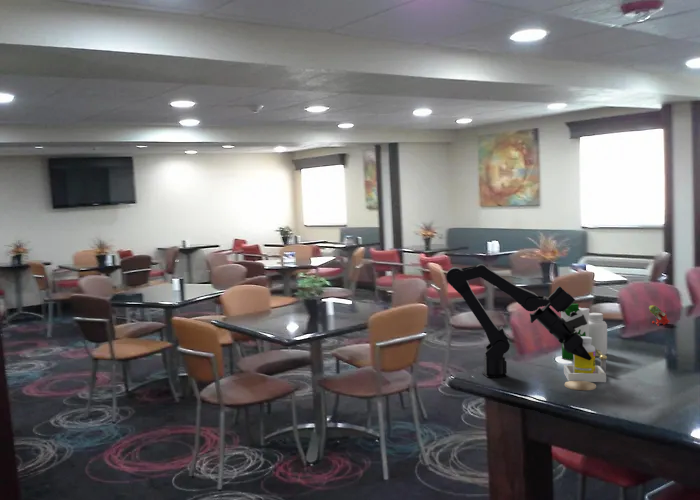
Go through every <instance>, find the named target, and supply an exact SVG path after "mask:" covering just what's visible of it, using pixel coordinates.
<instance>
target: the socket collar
mask: <svg viewBox="0 0 700 500" xmlns="http://www.w3.org/2000/svg"><path fill="white" fill-rule="evenodd" d="M563 374H564V375H565V377H566V379H567V382H568V381H587V382H591V383H606V382H607V359H600V365H595V373H573V364H570V365H569V364H564V365H563Z"/></svg>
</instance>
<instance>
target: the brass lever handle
mask: <svg viewBox="0 0 700 500" xmlns="http://www.w3.org/2000/svg"><path fill="white" fill-rule="evenodd" d="M595 357H599V359H600V360H601V359H606V360H608V358H607V357H608V356H607V355H603V354H602V352H601V351H600V350H599V349H596V356H595Z"/></svg>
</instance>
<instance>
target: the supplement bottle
mask: <svg viewBox="0 0 700 500" xmlns="http://www.w3.org/2000/svg"><path fill="white" fill-rule="evenodd" d="M581 337H582V339H583V347H584V348H585V349H586V351H587V352H588V353H589V355H590V356H591V358H592V359H591V360H587V359H584V358H582V357H579V356H577V355H574V354H573V360H572V361H573V363H572V365H573V373H595V366H596V356H595V347H594V346H592V345H591V343H592V338H591V337H586V336H581Z"/></svg>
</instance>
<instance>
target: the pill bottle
mask: <svg viewBox="0 0 700 500" xmlns="http://www.w3.org/2000/svg"><path fill="white" fill-rule="evenodd" d="M589 337H591V338H592V343H591V345H592V346H594V347H595V357H597V356H596V349H599V350H600V351H601V352H602V354H603V355H605V356H607V355H608V324H607V322H606V321H605V320H604V314H603V313H601V312H589Z"/></svg>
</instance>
